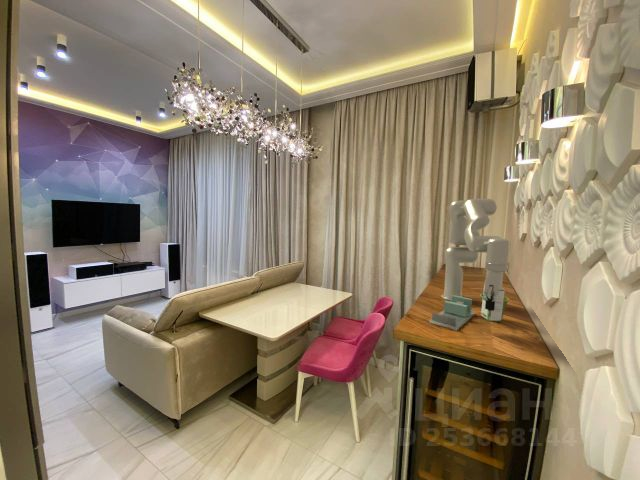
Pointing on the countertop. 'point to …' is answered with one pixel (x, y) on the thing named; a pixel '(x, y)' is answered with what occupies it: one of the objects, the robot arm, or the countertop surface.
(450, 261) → the robot arm
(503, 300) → the plant pot
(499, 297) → the syrup box
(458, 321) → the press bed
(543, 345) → the countertop surface
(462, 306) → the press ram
